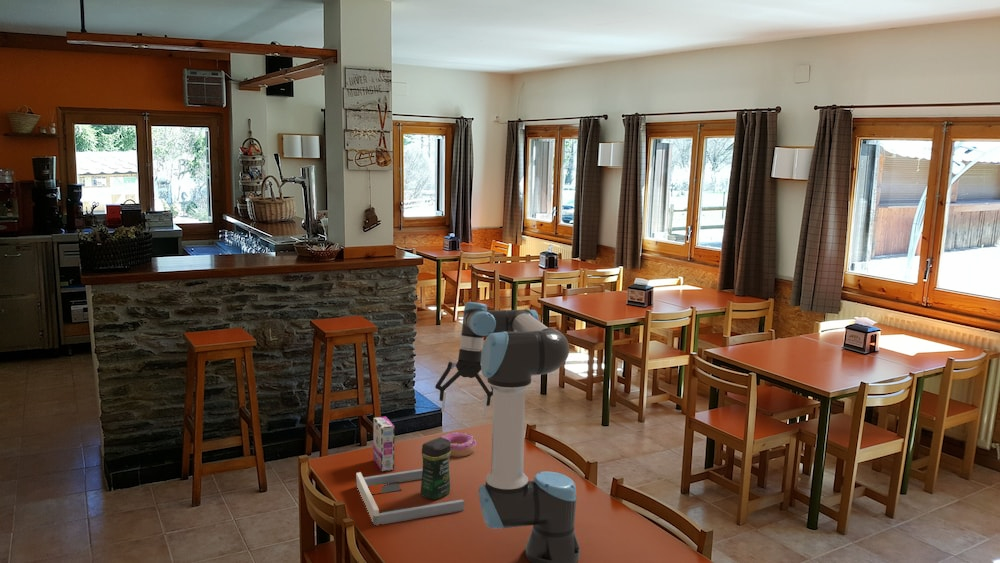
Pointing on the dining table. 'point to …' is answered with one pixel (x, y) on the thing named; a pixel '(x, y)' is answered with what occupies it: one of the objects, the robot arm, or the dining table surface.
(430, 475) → the coffee jar
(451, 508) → the channel
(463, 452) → the donut
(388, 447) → the candy bar box
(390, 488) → the trap pads
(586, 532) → the dining table surface
